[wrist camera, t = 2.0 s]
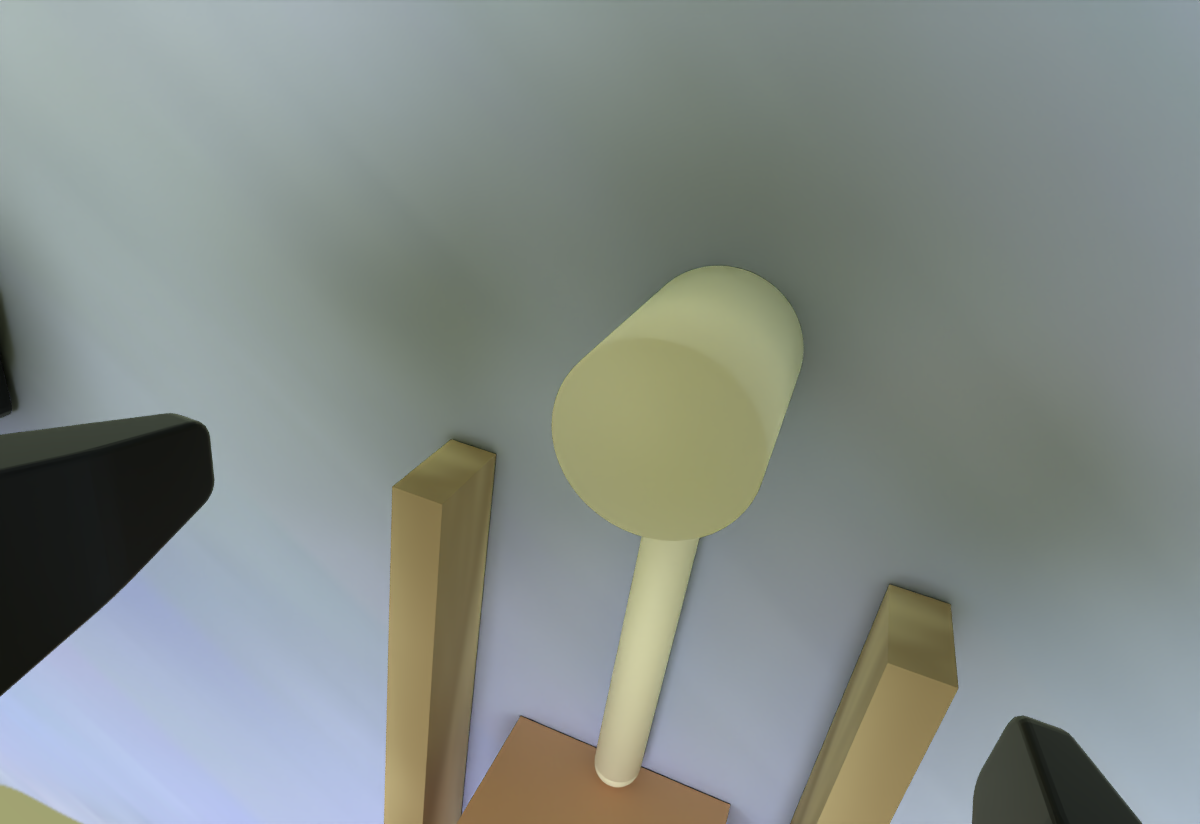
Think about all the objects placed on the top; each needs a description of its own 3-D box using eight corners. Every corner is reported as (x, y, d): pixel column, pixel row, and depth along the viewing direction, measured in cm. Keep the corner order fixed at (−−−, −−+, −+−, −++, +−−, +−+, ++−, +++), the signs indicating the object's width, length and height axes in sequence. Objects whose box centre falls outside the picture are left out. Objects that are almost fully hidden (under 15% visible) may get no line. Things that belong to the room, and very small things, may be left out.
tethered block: (501, 848, 24) (413, 1020, 19) (588, 231, 15) (458, 296, 10) (684, 935, 22) (632, 1142, 18) (904, 307, 13) (906, 421, 9)
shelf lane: (424, 851, 25) (381, 921, 23) (451, 439, 18) (392, 486, 16) (757, 1014, 22) (743, 1110, 20) (950, 604, 15) (958, 688, 13)
